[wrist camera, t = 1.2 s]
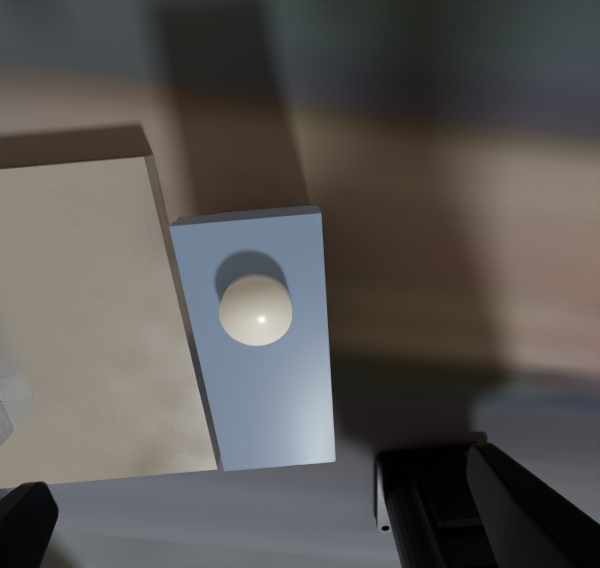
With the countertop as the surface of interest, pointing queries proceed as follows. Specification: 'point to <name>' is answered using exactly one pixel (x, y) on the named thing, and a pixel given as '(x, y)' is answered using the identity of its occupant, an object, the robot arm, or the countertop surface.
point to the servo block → (261, 332)
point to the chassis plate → (95, 329)
